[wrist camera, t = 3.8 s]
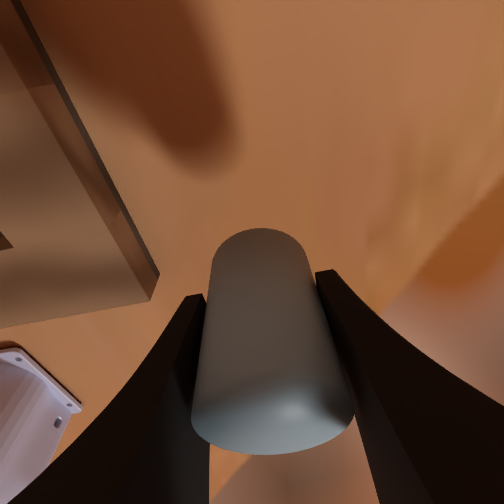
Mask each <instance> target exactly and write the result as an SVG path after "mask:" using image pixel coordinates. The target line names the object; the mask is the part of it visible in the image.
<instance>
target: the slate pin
mask: <svg viewBox="0 0 504 504" xmlns="http://www.w3.org/2000/svg"><path fill="white" fill-rule="evenodd" d="M354 412H355V406H354V402H353V399H352V395H351V392H350V389H349V386H348V383H347V380H346V377H345V374H344V371H343V368H342V364H341V361H340V358H339V355H338V352H337V349H336V346H335V343H334V340H333V337H332V333H331V330H330V327H329V324H328V321H327V318H326V315H325V312H324V309H323V306H322V303H321V300H320V297H319V294H318V290H317V287H316V284H315V281H314V278H313V275H312V272H311V268H310V265H309V262H308V259H307V256H306V253H305V251H304V249H303V248H302V246H301V245H300V244H299V243H298V242H297V241H296V240H295V239H294V238H293V237H291V236H290V235H288V234H286V233H284V232H281V231H278V230H274V229H267V228H255V229H249V230H245V231H242V232H239V233H237V234H235V235H233V236H231V237H230V238H228V239H227V240H226V241H225V242H223V243H222V244H221V246H220V247H219V248H218V249H217V251H216V253H215V255H214V258H213V261H212V267H211V274H210V281H209V289H208V296H207V303H206V310H205V318H204V325H203V332H202V340H201V347H200V354H199V361H198V369H197V376H196V383H195V390H194V398H193V405H192V412H191V422H192V426H193V428H194V430H195V431H196V432H197V433H198V435H199V436H200V437H202V438H203V439H204V440H206V441H207V442H209V443H211V444H213V445H215V446H217V447H220V448H223V449H226V450H229V451H233V452H238V453H245V454H256V455H257V454H258V455H271V454H284V453H290V452H296V451H301V450H305V449H308V448H312V447H315V446H317V445H320V444H322V443H325V442H327V441H329V440H331V439H332V438H334V437H335V436H337V435H339V434H340V433H341V432H342V431H343V430H345V429H346V427H347V426H348V425H349V424H350V422H351V421H352V419H353V416H354Z"/></svg>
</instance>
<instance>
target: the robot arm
mask: <svg viewBox="0 0 504 504" xmlns="http://www.w3.org/2000/svg"><path fill="white" fill-rule="evenodd" d="M315 279H316V287H317V290H318V294H319V297H320V300H321V303H322V306H323V309H324V312H325V315H326V318H327V321H328V324H329V327H330V330H331V333H332V337H333V340H334V343H335V346H336V349H337V352H338V355H339V358H340V361H341V364H342V368H343V371H344V374H345V377H346V380H347V383H348V386H349V389H350V392H351V395H352V399H353V402H354V406H355V412H354V414H355V418H356V421H357V425H358V428H359V432H360V435H361V438H362V442H363V445H364V449H365V452H366V456H367V459H368V463H369V467H370V470H371V474H372V477H373V481H374V484H375V488H376V492H377V496H378V499H379V503H380V504H504V406H503V405H501V404H499V403H498V402H496V401H494V400H493V399H491V398H490V397H488V396H486V395H485V394H483V393H482V392H480V391H479V390H477V389H475V388H474V387H472V386H471V385H469V384H468V383H466V382H465V381H463V380H461V379H460V378H458V377H457V376H455V375H454V374H452V373H451V372H449V371H448V370H446V369H445V368H444V367H442V366H441V365H439V364H438V363H436V362H435V361H434V360H432V359H431V358H429V357H428V356H427V355H425V354H424V353H423V352H421V351H420V350H419V349H417V348H416V347H415V346H413V345H412V344H411V343H410V342H408V341H407V340H406V339H405V338H403V337H402V336H401V335H400V334H398V333H397V332H396V331H395V330H394V329H392V328H391V327H390V326H389V325H388V324H387V323H386V322H384V321H383V320H382V319H381V318H380V317H379V316H378V315H377V314H376V313H375V312H374V311H373V310H371V309H370V308H369V307H368V306H367V305H366V304H365V303H364V302H363V301H362V300H361V299H360V298H359V297H358V296H357V295H356V294H355V293H354V292H353V291H352V289H351V288H350V287H349V286H348V285H347V284H346V283H345V282H344V281H343V279H342V278H341V277H340V276H339V275H338V273H337V272H336V271H335V270H333V269H331V270H326V271H320V272H315ZM205 310H206V302H205V299H204V297H203V295H202V293H201V294H196V295H190V296H186V297H185V298H184V300H183V301H182V303H181V304H180V306H179V307H178V309H177V311H176V312H175V314H174V315H173V317H172V319H171V320H170V322H169V323H168V325H167V326H166V328H165V330H164V331H163V333H162V334H161V336H160V337H159V339H158V340H157V342H156V343H155V345H154V346H153V348H152V349H151V351H150V352H149V353H148V355H147V356H146V358H145V359H144V360H143V362H142V363H141V364H140V366H139V367H138V369H137V370H136V371H135V373H134V374H133V375H132V377H131V378H130V379H129V380H128V382H127V383H126V384H125V386H124V387H123V388H122V389H121V390H120V392H119V393H118V394H117V395H116V396H115V397H114V399H113V400H112V401H111V402H110V403H109V404H108V406H107V407H106V408H105V409H104V410H103V411H102V412H101V413H100V414H99V415H98V416H97V418H96V419H95V420H94V421H93V422H92V423H91V424H90V425H89V426H88V427H87V428H86V429H85V430H84V431H83V432H82V434H81V435H80V436H79V437H78V438H77V439H76V440H75V441H74V442H73V443H72V444H71V445H70V446H69V447H68V448H67V449H66V450H65V451H64V452H63V453H62V454H61V455H60V456H59V457H58V458H57V459H56V460H55V461H53V462H52V463H51V464H50V465H49V463H50V461H51V458H52V456H53V454H54V452H55V450H56V448H57V446H58V443H59V441H60V439H61V437H62V435H63V433H64V431H65V429H66V426H67V424H68V422H69V420H70V418H71V416H72V414H74V413H79V412H81V411H82V408H83V406H82V405H81V404H80V403H79V402H78V401H77V400H75V399H74V398H73V397H72V396H71V395H70V394H69V393H68V392H67V391H66V390H65V389H64V388H63V387H61V386H60V385H59V384H58V383H57V382H56V381H55V380H54V379H53V378H52V377H51V376H50V375H49V374H47V373H46V372H45V371H44V370H43V369H42V368H41V367H40V366H39V365H38V364H37V363H36V362H35V361H34V360H32V359H31V358H30V357H29V356H28V355H27V354H26V353H25V352H24V351H23V350H21V349H19V348H8V349H3V350H0V504H209V452H210V443H209V442H207V441H206V440H204V439H203V438H202V437H200V436H199V435H198V433H197V432H196V431H195V430H194V428H193V426H192V422H191V412H192V405H193V398H194V390H195V383H196V376H197V369H198V361H199V354H200V347H201V340H202V332H203V325H204V318H205ZM48 465H49V466H48Z"/></svg>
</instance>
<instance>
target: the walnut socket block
mask: <svg viewBox="0 0 504 504" xmlns="http://www.w3.org/2000/svg"><path fill="white" fill-rule="evenodd" d="M159 275H160V273H159V271H158V269H157V267H156V265H155V263H154V261H153V259H152V258H151V256H150V254H149V252H148V250H147V248H146V246H145V244H144V242H143V240H142V238H141V236H140V234H139V232H138V230H137V228H136V226H135V224H134V222H133V221H132V219H131V217H130V215H129V213H128V211H127V209H126V207H125V205H124V203H123V201H122V199H121V197H120V195H119V193H118V191H117V189H116V187H115V185H114V183H113V182H112V180H111V178H110V176H109V174H108V172H107V170H106V168H105V166H104V164H103V162H102V160H101V158H100V156H99V154H98V152H97V150H96V148H95V146H94V145H93V143H92V141H91V139H90V137H89V135H88V133H87V131H86V129H85V127H84V125H83V123H82V121H81V119H80V117H79V115H78V113H77V111H76V109H75V108H74V106H73V104H72V102H71V100H70V98H69V96H68V94H67V92H66V90H65V88H64V86H63V84H62V82H61V80H60V78H59V76H58V74H57V72H56V70H55V69H54V67H53V65H52V63H51V61H50V59H49V57H48V55H47V53H46V51H45V49H44V47H43V45H42V43H41V41H40V39H39V37H38V35H37V33H36V32H35V30H34V28H33V26H32V24H31V22H30V20H29V18H28V16H27V14H26V12H25V10H24V8H23V6H22V4H21V2H20V0H0V329H1V328H7V327H12V326H17V325H23V324H28V323H34V322H39V321H45V320H50V319H56V318H61V317H67V316H72V315H78V314H83V313H88V312H94V311H99V310H105V309H110V308H116V307H121V306H127V305H132V304H138V303H143V302H149V301H150V300H151V297H152V294H153V291H154V289H155V286H156V283H157V281H158V278H159Z"/></svg>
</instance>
